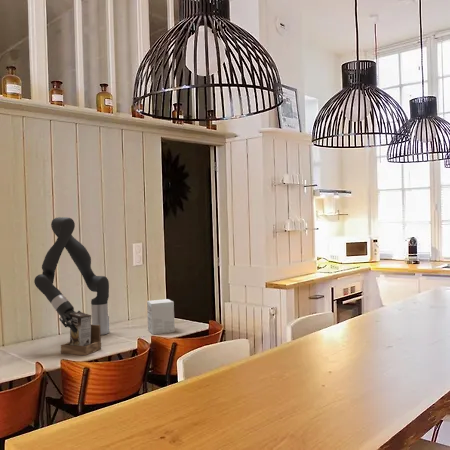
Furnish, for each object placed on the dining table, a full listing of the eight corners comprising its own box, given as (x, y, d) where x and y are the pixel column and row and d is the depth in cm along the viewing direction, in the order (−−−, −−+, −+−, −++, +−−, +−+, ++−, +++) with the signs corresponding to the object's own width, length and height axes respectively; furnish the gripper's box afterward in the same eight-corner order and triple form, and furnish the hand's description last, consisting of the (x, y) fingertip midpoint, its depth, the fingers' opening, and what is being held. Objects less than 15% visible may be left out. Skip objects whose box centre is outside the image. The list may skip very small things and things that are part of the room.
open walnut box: (77, 347, 251) (76, 323, 251) (101, 348, 246) (100, 325, 246) (61, 353, 239) (60, 328, 239) (85, 355, 234) (84, 330, 234)
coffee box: (69, 345, 242) (69, 313, 242) (80, 343, 247) (80, 311, 246) (79, 349, 237) (80, 316, 236) (91, 346, 241) (91, 314, 241)
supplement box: (169, 327, 292) (168, 298, 292) (175, 332, 279) (174, 301, 279) (147, 330, 287) (146, 300, 287) (152, 334, 275) (151, 303, 275)
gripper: (56, 302, 238) (76, 327, 234) (75, 298, 251) (95, 321, 247) (48, 313, 240) (67, 338, 236) (67, 308, 253) (86, 331, 249)
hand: (81, 329), depth 242 cm, fingers closed on coffee box, 8 cm apart
